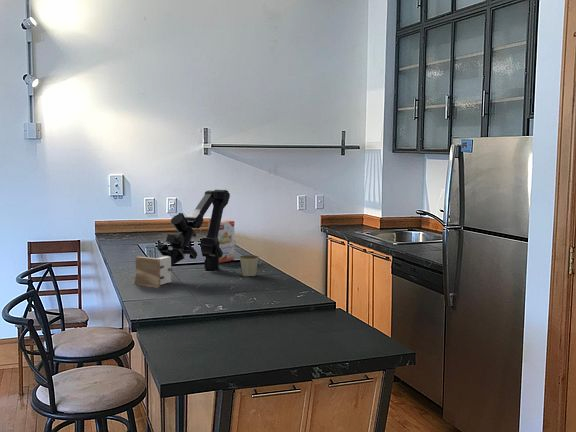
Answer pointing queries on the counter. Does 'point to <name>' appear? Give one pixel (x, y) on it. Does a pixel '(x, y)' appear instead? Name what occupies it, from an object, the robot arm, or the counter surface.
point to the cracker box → (226, 240)
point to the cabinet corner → (148, 272)
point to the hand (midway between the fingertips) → (168, 266)
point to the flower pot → (249, 264)
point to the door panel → (165, 269)
